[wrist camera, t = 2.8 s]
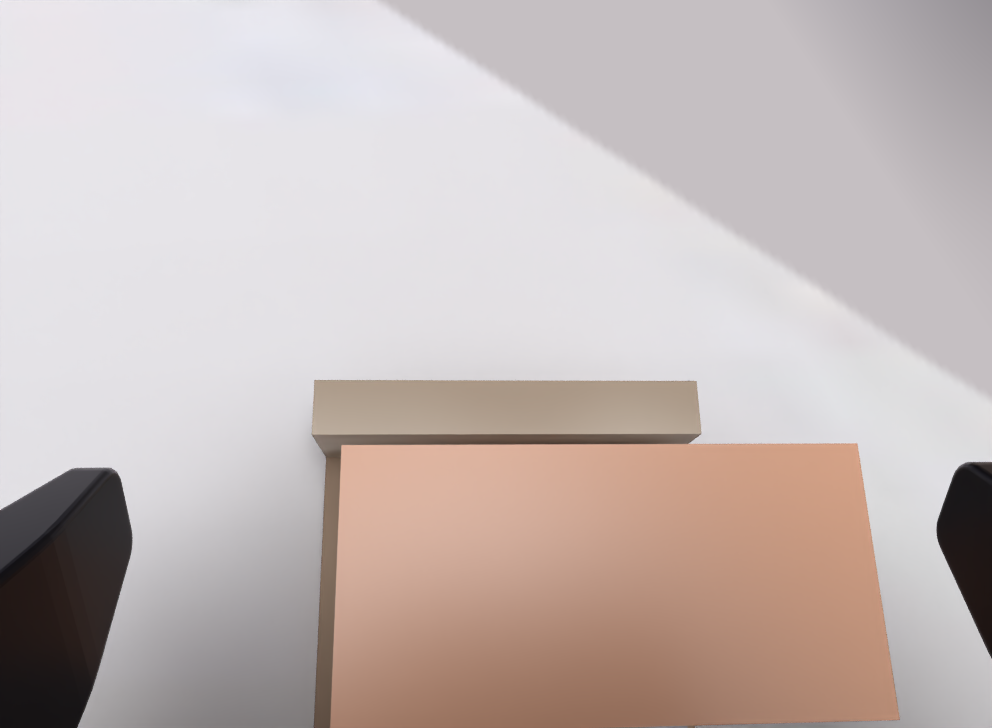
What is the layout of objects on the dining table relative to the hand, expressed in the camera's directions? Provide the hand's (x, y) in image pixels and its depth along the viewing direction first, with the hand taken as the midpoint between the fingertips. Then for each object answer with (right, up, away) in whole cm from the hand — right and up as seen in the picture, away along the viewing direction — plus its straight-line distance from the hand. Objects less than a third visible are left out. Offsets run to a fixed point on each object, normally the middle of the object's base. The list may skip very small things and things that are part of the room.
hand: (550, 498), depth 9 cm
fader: (0, -3, +7) cm, 7 cm away
